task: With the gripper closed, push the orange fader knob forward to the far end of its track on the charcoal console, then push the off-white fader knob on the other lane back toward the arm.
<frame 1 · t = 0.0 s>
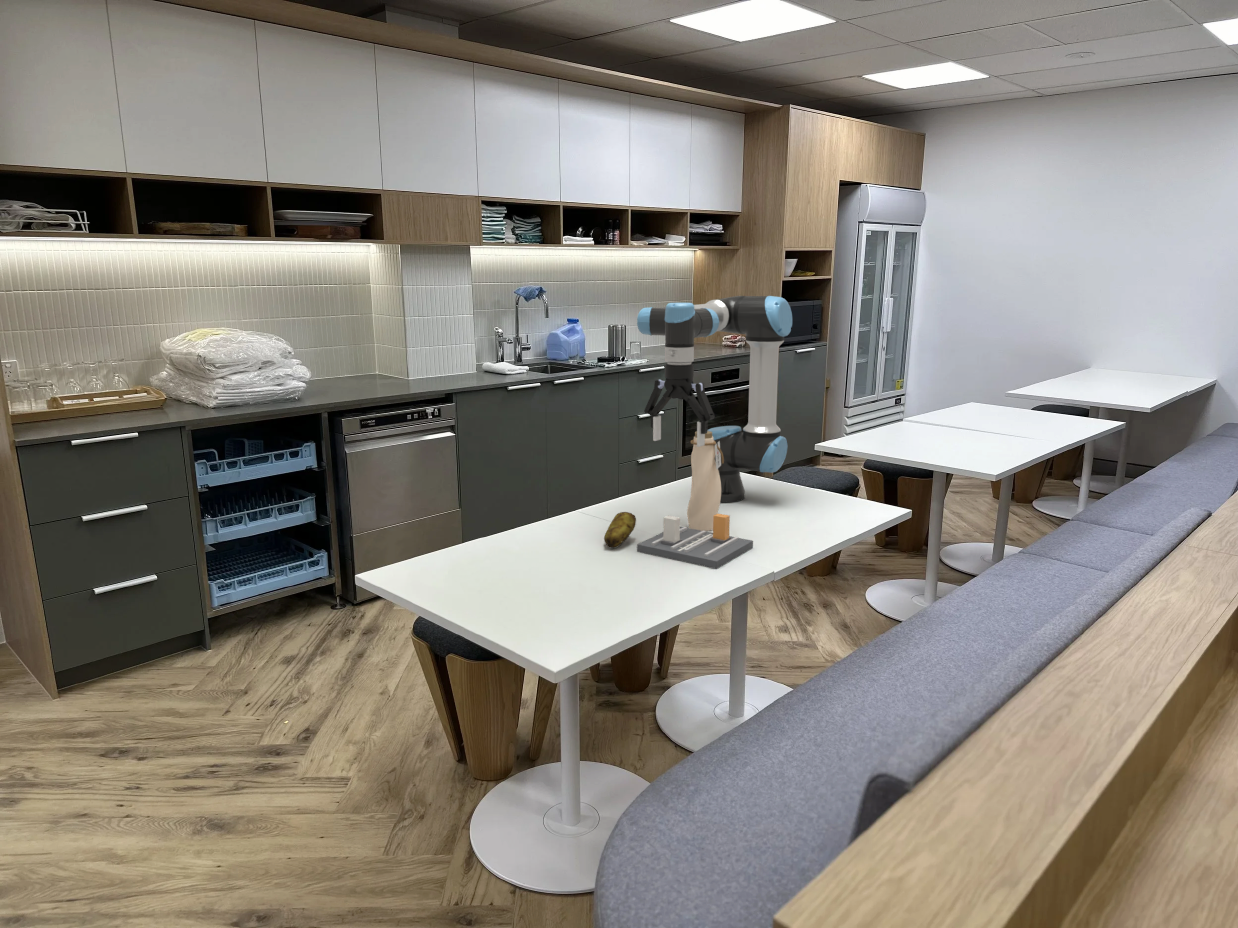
hand: (678, 443, 229), 28 cm above the table, fingers open, 13 cm apart
fader b: (671, 530, 228), point 6 cm above the table, slide at 9.0 cm
fader a: (721, 528, 230), point 6 cm above the table, slide at 0.0 cm
potato: (619, 543, 236), on the table
console: (695, 549, 230), on the table
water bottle: (704, 527, 250), on the table
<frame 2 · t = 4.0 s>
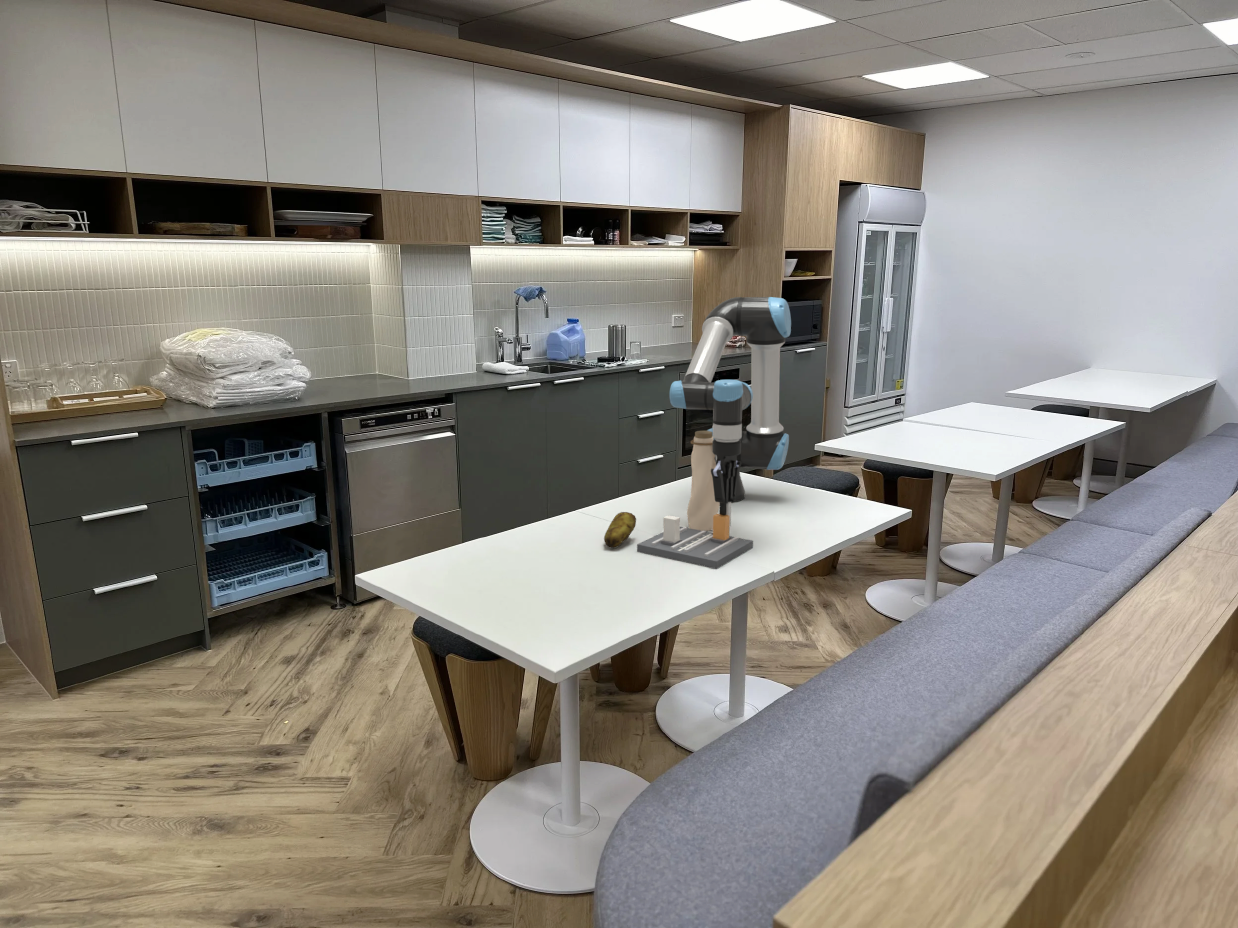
hand: (724, 525, 231), 6 cm above the table, fingers closed
fader a: (721, 528, 230), point 6 cm above the table, slide at 0.1 cm, touching gripper
everything else where it was.
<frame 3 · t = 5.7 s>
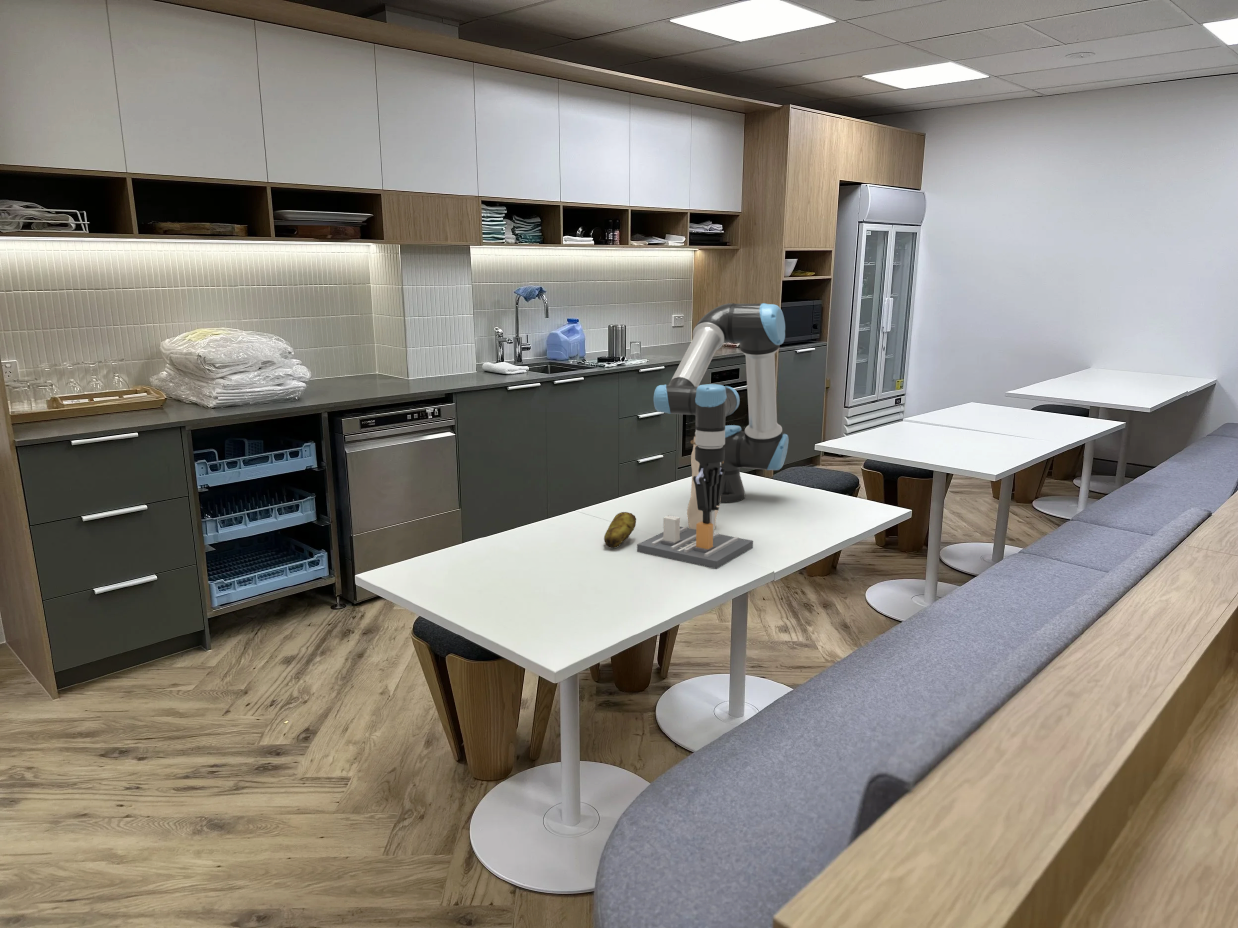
hand: (708, 534, 224), 6 cm above the table, fingers closed
fader a: (704, 536, 223), point 6 cm above the table, slide at 8.9 cm, touching gripper
everything else where it was.
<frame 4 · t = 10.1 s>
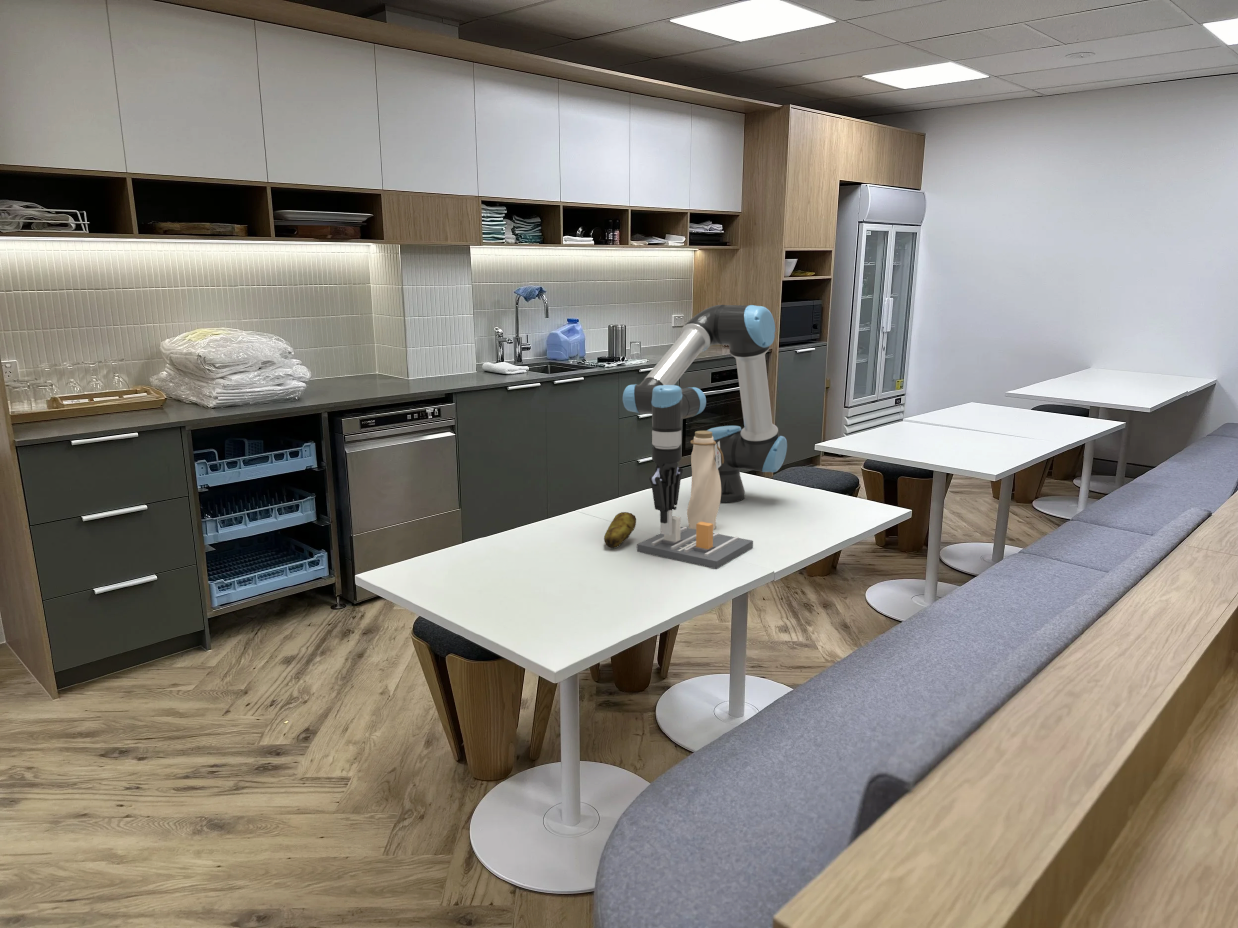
hand: (666, 533, 226), 5 cm above the table, fingers closed
fader b: (672, 529, 229), point 6 cm above the table, slide at 8.6 cm, touching gripper
fader a: (704, 536, 223), point 6 cm above the table, slide at 9.0 cm
everything else where it was.
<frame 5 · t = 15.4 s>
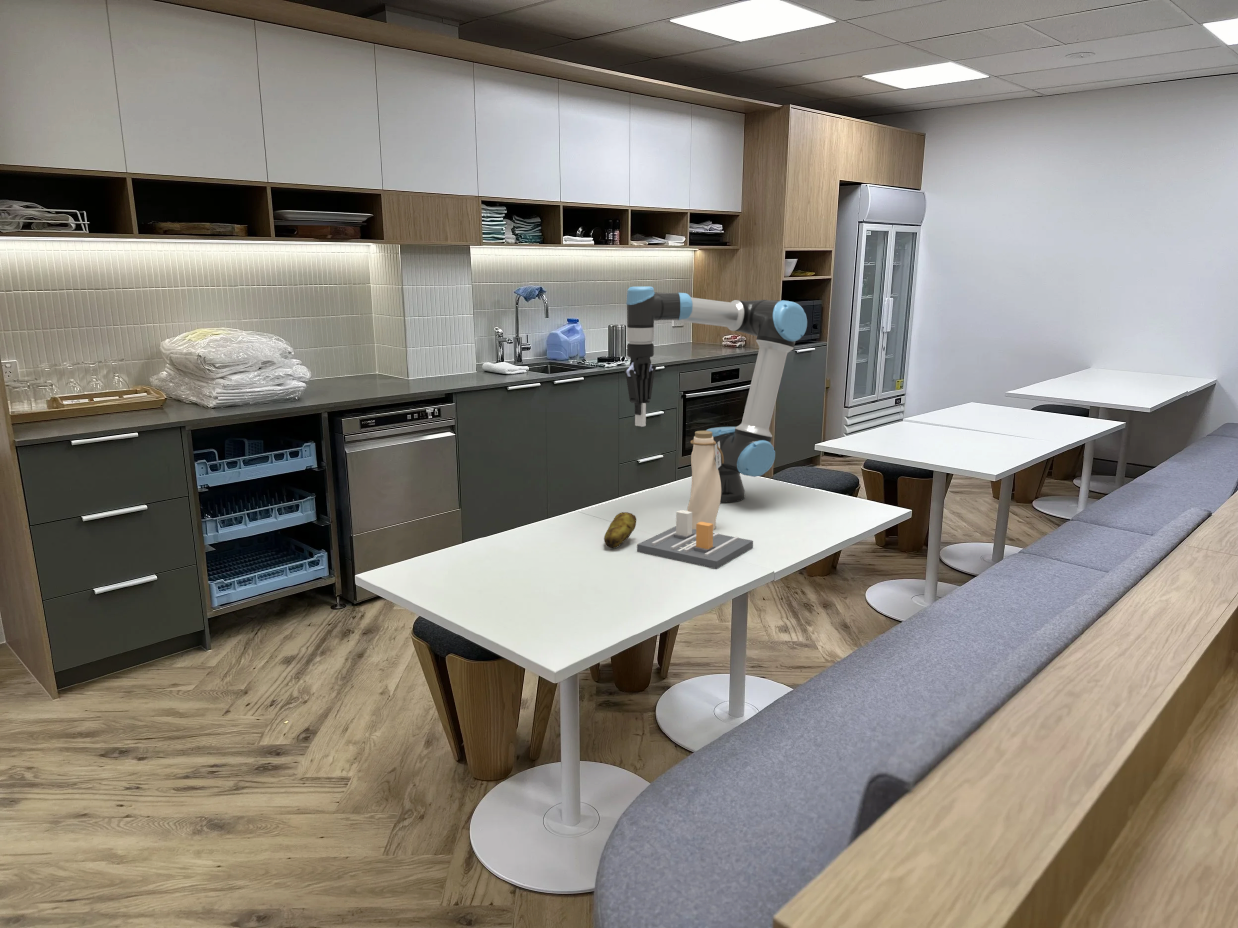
hand: (640, 425, 246), 29 cm above the table, fingers closed
fader b: (684, 524, 234), point 6 cm above the table, slide at 2.6 cm
everything else where it was.
at the end: fader a slide at 9.0 cm; fader b slide at 2.6 cm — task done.
